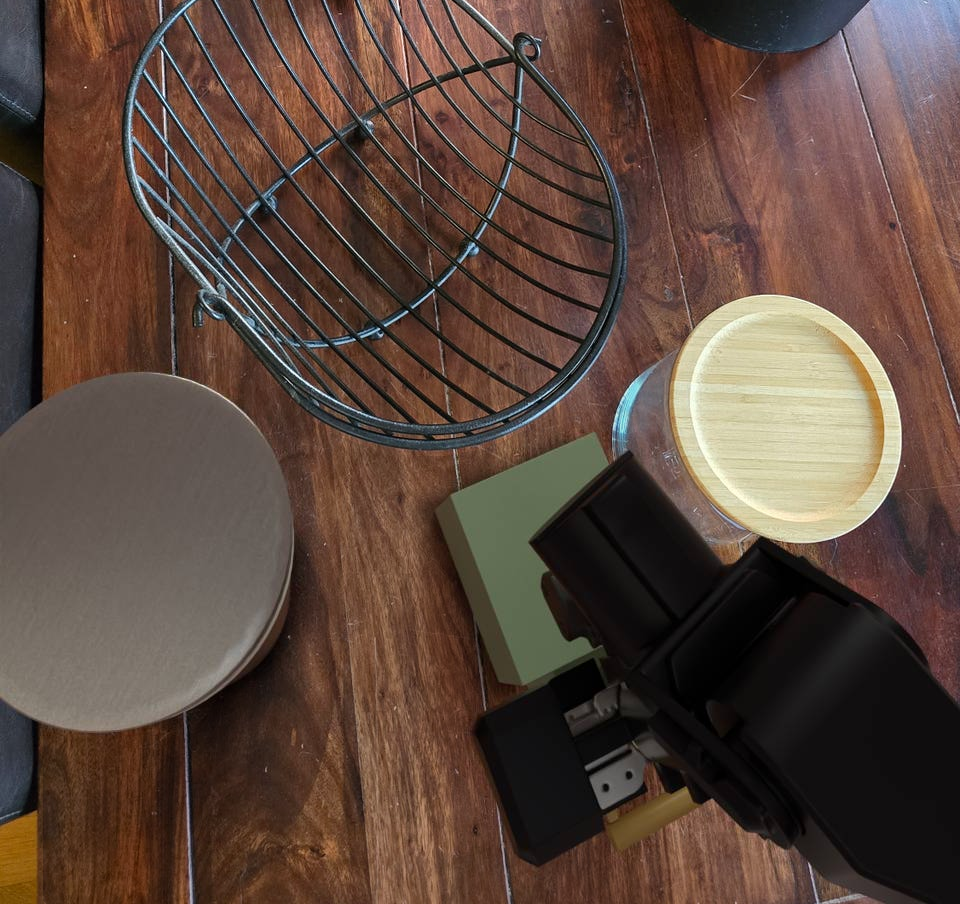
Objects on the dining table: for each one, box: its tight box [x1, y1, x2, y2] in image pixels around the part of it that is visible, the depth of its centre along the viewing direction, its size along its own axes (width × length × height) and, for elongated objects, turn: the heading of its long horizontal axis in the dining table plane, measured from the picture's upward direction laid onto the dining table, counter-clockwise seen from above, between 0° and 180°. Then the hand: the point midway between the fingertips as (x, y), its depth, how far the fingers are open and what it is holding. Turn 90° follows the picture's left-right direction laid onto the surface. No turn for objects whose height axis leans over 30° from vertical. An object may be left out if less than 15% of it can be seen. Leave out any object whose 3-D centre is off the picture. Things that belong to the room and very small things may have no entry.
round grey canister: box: [0, 371, 295, 734], centre depth 52 cm, size 10×10×40 cm
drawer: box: [525, 646, 704, 854], centre depth 66 cm, size 13×8×6 cm, turn 23°
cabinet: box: [434, 431, 610, 687], centre depth 69 cm, size 11×10×8 cm
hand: (628, 694), depth 61 cm, fingers closed on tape, 3 cm apart
